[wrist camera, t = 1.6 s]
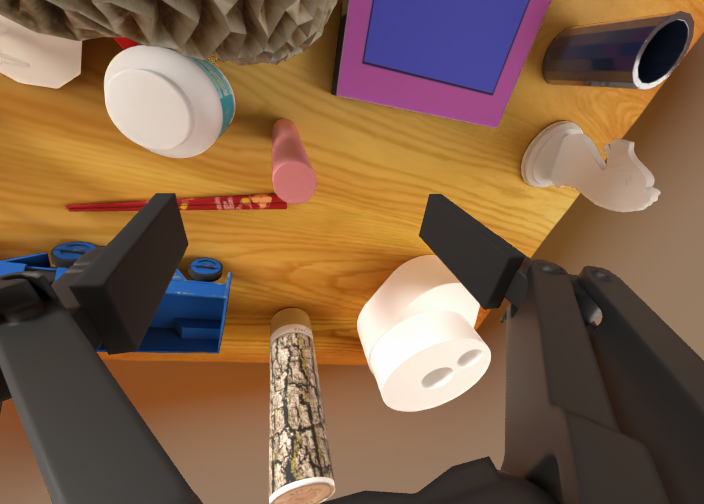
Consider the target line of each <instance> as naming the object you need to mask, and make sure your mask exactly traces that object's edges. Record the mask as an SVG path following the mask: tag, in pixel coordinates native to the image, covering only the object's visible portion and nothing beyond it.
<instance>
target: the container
mask: <svg viewBox="0 0 704 504" xmlns="http://www.w3.org/2000/svg"><path fill="white" fill-rule="evenodd" d="M479 307H480V304H479V303H478V302H477V301H476V299H475V298H474V297H473V296H472V295H471V294H470V293H469V292H468V290H467V289H466V288H465V287H464V286H463V285H462V284H461V282H460V281H459V280H458V279H457V278H456V277H455V276H454V275H453V273H452V272H451V271H450V270H449V269H448V268H447V267H446V265H445V264H444V263H443V262H442V261H441V260H440V259H439V258H438V256H437V255H423V256H419V257H416V258H413V259H411V260H409V261H407V262H405V263H403V264H402V265H401V266H399V267H398V268H397V269H396V270H395V271H394V272H393V273H392V274H391V275H390V276H389V277H388V278H387V280H386V281H385V282H384V283H383V284H382V286H381V287H380V288H379V289H378V290H377V291H376V293H375V294H374V295H373V296H372V297H371V298H370V300H369V301H368V302H367V303H366V304H365V306H364V307H363V309H362V310H361V312H360V314H359V317H358V321H357V331H358V334H359V337H360V340H361V344H362V347H363V350H364V353H365V356H366V359H367V362H368V365H369V368H370V370H371V372H372V373H373V375H375V378H376V381H377V384H378V387H379V390H380V392H381V395H382V399H383V401H384V403H385V404H386V405H387V406H389V407H390V408H392V409H395V410H399V411H419V410H425V409H429V408H432V407H435V406H438V405H441V404H443V403H446V402H448V401H450V400H452V399H454V398H456V397H457V396H459V395H460V394H462V393H464V392H465V391H466V390H468V389H469V388H470V387H472V386H473V385H474V384H475V383H476V382H477V381H478V380H479V379H480V378H481V377H482V375H483V374H484V373H485V371H486V370H487V368H488V366H489V363H490V360H491V353H490V350H489V348H488V346H487V345H486V344H485V343H484V341H483V340H482V339H481V337H480V336H479V335H478V334H477V332H476V331H475V330H474V325H475V322H476V318H477V314H478V311H479Z"/></svg>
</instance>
